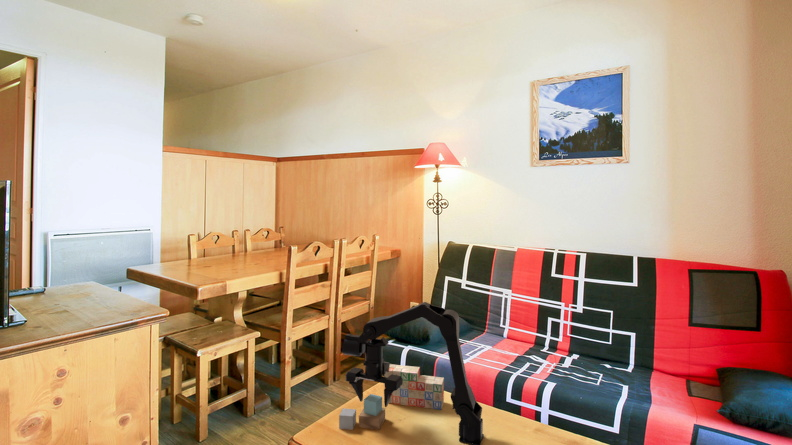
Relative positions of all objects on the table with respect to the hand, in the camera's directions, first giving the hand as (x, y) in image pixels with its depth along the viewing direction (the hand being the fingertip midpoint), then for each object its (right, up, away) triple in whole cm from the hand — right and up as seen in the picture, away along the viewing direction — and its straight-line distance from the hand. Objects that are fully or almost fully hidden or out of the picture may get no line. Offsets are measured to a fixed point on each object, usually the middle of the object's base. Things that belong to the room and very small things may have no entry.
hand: (373, 403), depth 132 cm
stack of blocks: (+14, -6, +15) cm, 21 cm away
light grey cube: (-8, -7, -2) cm, 11 cm away
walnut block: (0, -7, 0) cm, 7 cm away
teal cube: (0, -3, 0) cm, 3 cm away
